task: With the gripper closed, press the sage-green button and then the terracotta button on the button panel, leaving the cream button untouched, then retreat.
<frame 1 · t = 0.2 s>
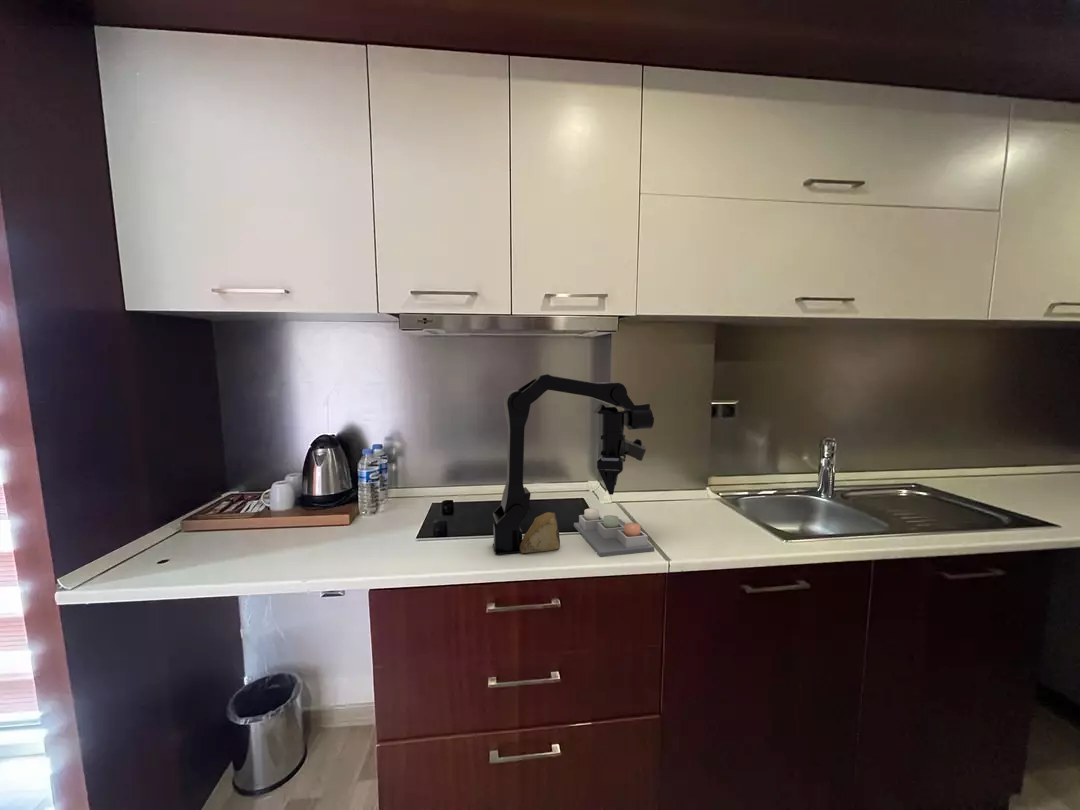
hand: (612, 489, 119), 13 cm above the countertop, fingers open, 9 cm apart
terracotta button: (632, 531, 114), point 4 cm above the countertop, slide at 0.0 cm
sage button: (611, 523, 120), point 4 cm above the countertop, slide at 0.0 cm
cream button: (591, 515, 127), point 4 cm above the countertop, slide at 0.0 cm
panel: (611, 537, 121), on the countertop
rock: (539, 549, 114), on the countertop, touching arm
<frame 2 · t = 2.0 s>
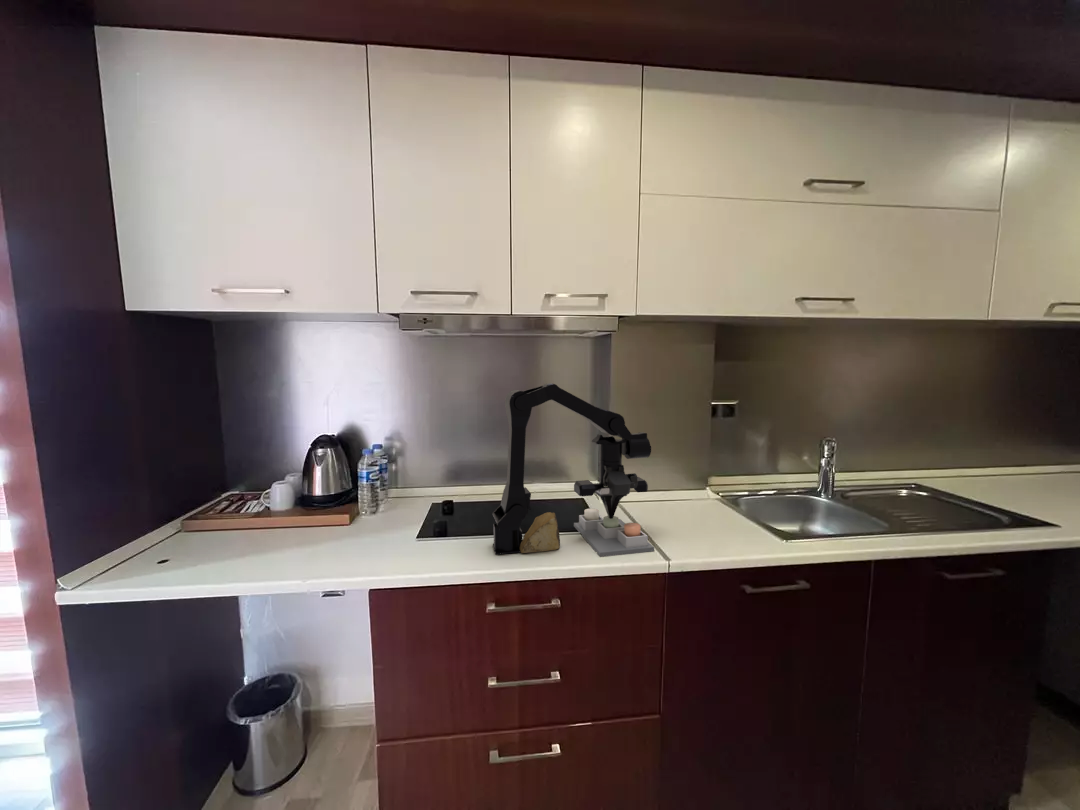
hand: (610, 518, 120), 5 cm above the countertop, fingers closed, pressing on sage button
sage button: (611, 523, 120), point 4 cm above the countertop, slide at 0.2 cm, touching gripper
everything else where it was.
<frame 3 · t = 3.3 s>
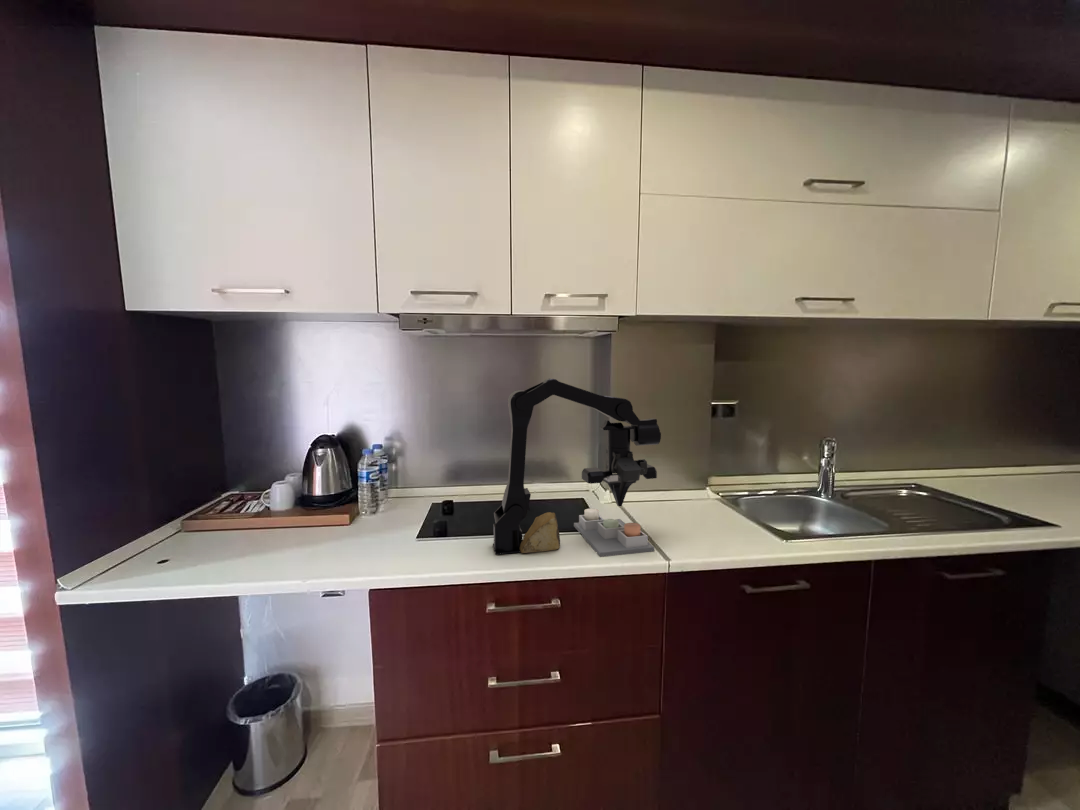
hand: (619, 506, 118), 9 cm above the countertop, fingers closed
sage button: (611, 526, 120), point 3 cm above the countertop, slide at 1.0 cm
everything else where it was.
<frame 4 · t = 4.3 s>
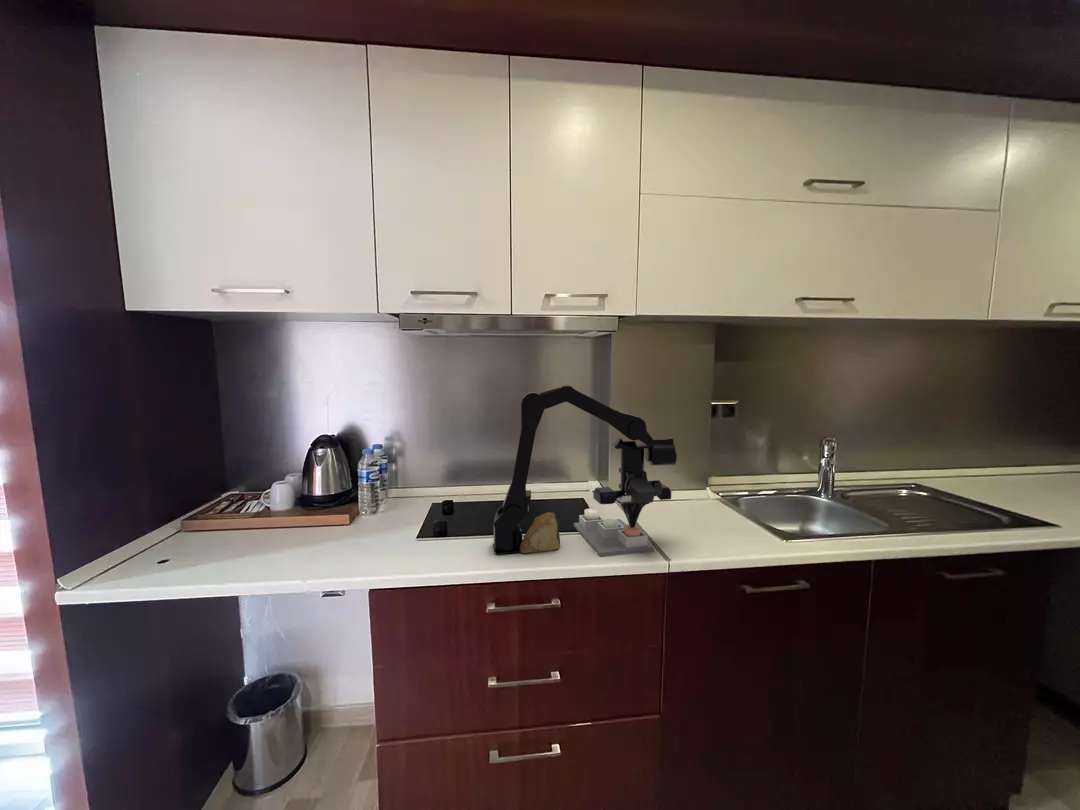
hand: (632, 527, 114), 5 cm above the countertop, fingers closed, pressing on terracotta button
terracotta button: (632, 532, 114), point 4 cm above the countertop, slide at 0.5 cm, touching gripper
everything else where it was.
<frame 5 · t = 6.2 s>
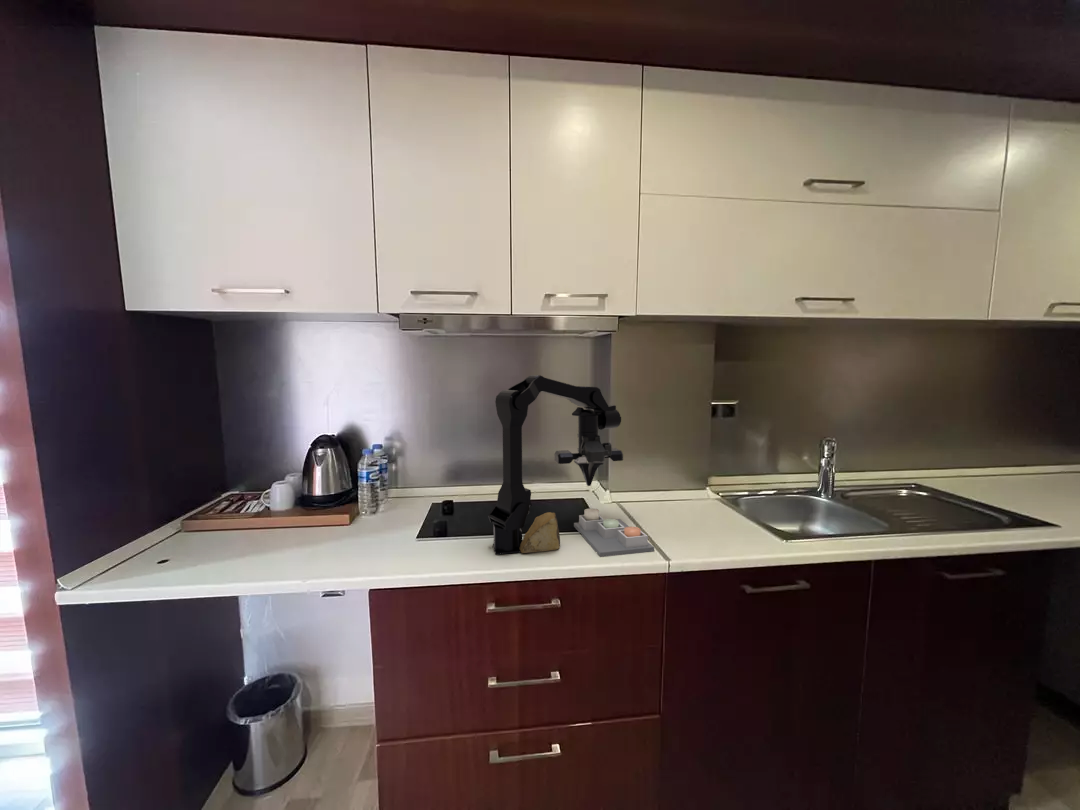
hand: (588, 485, 129), 12 cm above the countertop, fingers closed
terracotta button: (632, 535, 114), point 3 cm above the countertop, slide at 1.0 cm
everything else where it was.
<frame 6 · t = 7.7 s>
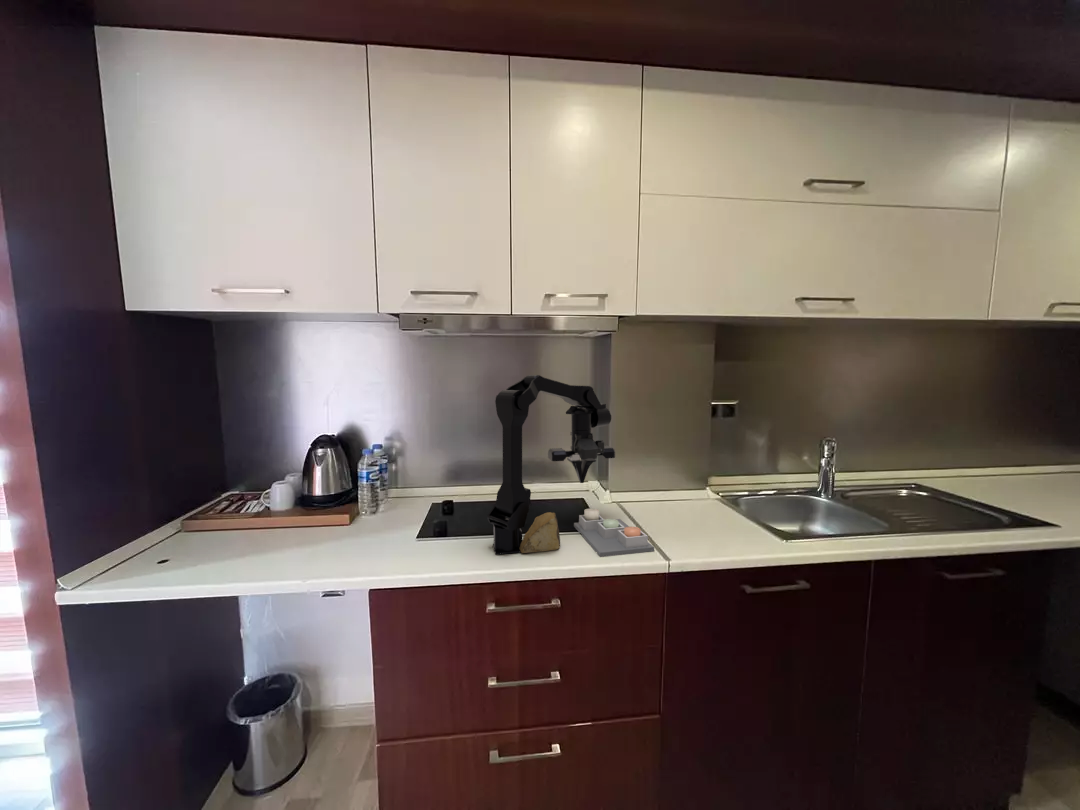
hand: (581, 482, 132), 12 cm above the countertop, fingers closed
nothing on the countertop moved.
at the end: sage button slide at 1.0 cm; terracotta button slide at 1.0 cm; cream button slide at 0.0 cm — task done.
